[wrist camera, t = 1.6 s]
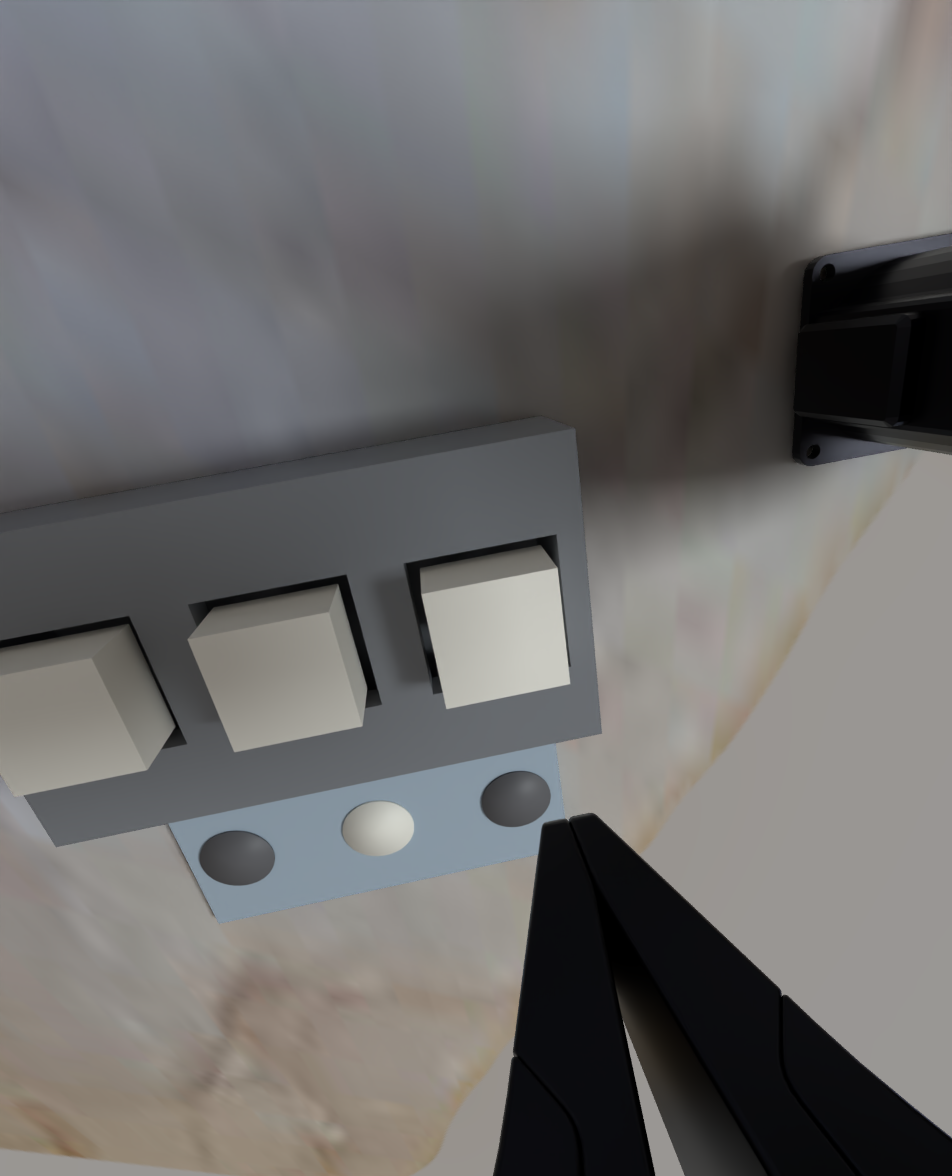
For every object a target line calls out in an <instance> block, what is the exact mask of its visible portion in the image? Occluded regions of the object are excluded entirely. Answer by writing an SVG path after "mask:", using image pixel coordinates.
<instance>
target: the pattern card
mask: <svg viewBox="0 0 952 1176" xmlns="http://www.w3.org/2000/svg"><path fill="white" fill-rule="evenodd" d="M558 819H565V814H564V806H563V798H562V791H561V783H560V775H559V767H558V760H557V752H556V744H555V743H554V744H549V745H544V746H539V747H534V748H530V749H525V750H520V751H515V752H510V753H506V754H501V755H496V756H491V757H486V758H482V759H477V760H472V761H467V762H462V763H458V764H453V765H448V766H443V767H438V768H434V769H429V770H424V771H419V772H414V773H409V774H405V775H400V776H395V777H390V778H385V779H381V780H376V781H371V782H366V783H361V784H357V785H352V786H347V787H342V788H337V789H333V790H328V791H323V792H318V793H313V794H309V795H304V796H299V797H294V798H289V799H285V800H280V801H275V802H270V803H265V804H261V805H256V806H251V807H246V808H241V809H237V810H232V811H227V812H222V813H217V814H212V815H208V816H203V817H198V818H193V819H188V820H184V821H179V822H174V823H169V826H170V828H171V830H172V832H173V834H174V836H175V838H176V840H177V842H178V844H179V846H180V848H181V850H182V852H183V854H184V856H185V858H186V860H187V862H188V864H189V866H190V868H191V870H192V872H193V874H194V876H195V878H196V880H197V882H198V884H199V886H200V888H201V890H202V891H203V893H204V895H205V897H206V899H207V901H208V903H209V905H210V907H211V909H212V911H213V913H214V915H215V917H216V919H217V921H218V923H219V924H220V923H225V922H229V921H234V920H239V919H243V918H248V917H252V916H257V915H262V914H266V913H271V912H275V911H280V910H285V909H289V908H294V907H298V906H303V905H308V904H312V903H317V902H321V901H326V900H331V899H335V898H340V897H345V896H349V895H354V894H358V893H363V892H368V891H372V890H377V889H381V888H386V887H391V886H395V885H400V884H404V883H409V882H414V881H418V880H423V879H427V878H432V877H437V876H441V875H446V874H451V873H455V872H460V871H464V870H469V869H474V868H478V867H483V866H487V865H492V864H497V863H501V862H506V861H510V860H515V859H520V858H524V857H529V856H533V855H538V851H539V843H540V835H541V828H542V825H543V824H544V823H545V822H549V821H553V820H558Z"/></svg>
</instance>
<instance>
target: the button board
mask: <svg viewBox="0 0 952 1176" xmlns="http://www.w3.org/2000/svg"><path fill="white" fill-rule="evenodd" d="M537 545H541V546H542V548H543V549H544V550H545V552H546V553H547V554H548V556H549V557H550V558H551V560H552V561H553V562H554V564H555V565H556V566H557V568H558V576H559V586H560V595H561V604H562V613H563V622H564V631H565V640H566V649H567V658H568V667H569V677H570V684H568V685H563V686H558V687H554V688H549V689H544V690H539V691H534V692H529V693H524V694H519V695H514V696H509V697H504V698H499V699H495V700H490V701H485V702H480V703H475V704H470V705H465V706H460V707H455V708H450V709H446V705H445V700H444V696H443V691H442V686H441V682H440V677H439V673H438V668H437V664H436V659H435V654H434V650H433V645H432V641H431V636H430V632H429V627H428V622H427V618H426V613H425V609H424V604H423V600H422V595H421V579H420V568H422V567H427V566H433V565H438V564H443V563H448V562H453V561H459V560H464V559H469V558H474V557H480V556H485V555H490V554H495V553H500V552H506V551H511V550H516V549H521V548H527V547H532V546H537ZM333 584H338V585H339V589H340V592H341V596H342V599H343V603H344V606H345V610H346V614H347V617H348V621H349V624H350V628H351V631H352V635H353V638H354V642H355V646H356V649H357V653H358V656H359V660H360V663H361V667H362V670H363V674H364V678H365V681H366V685H367V695H366V703H365V711H364V718H363V726H362V727H357V728H352V729H347V730H342V731H337V732H332V733H327V734H323V735H318V736H313V737H308V738H303V739H298V740H293V741H288V742H283V743H278V744H273V745H268V746H264V747H259V748H254V749H249V750H244V751H239V752H234V750H233V748H232V746H231V743H230V741H229V738H228V736H227V734H226V731H225V729H224V726H223V724H222V722H221V719H220V717H219V714H218V712H217V710H216V707H215V705H214V702H213V700H212V698H211V695H210V693H209V690H208V688H207V686H206V683H205V681H204V678H203V676H202V673H201V671H200V669H199V666H198V664H197V661H196V659H195V657H194V654H193V652H192V649H191V647H190V645H189V642H188V640H187V639H188V638H189V637H190V636H191V634H192V633H193V632H194V631H195V630H196V628H197V627H198V626H199V625H200V623H201V622H202V621H203V620H204V618H205V617H206V616H207V615H208V613H209V612H210V611H211V610H212V609H213V607H218V606H224V605H229V604H234V603H239V602H245V601H250V600H255V599H260V598H265V597H271V596H276V595H281V594H286V593H292V592H297V591H302V590H307V589H312V588H318V587H323V586H328V585H333ZM125 624H129V625H130V627H131V630H132V632H133V634H134V636H135V638H136V641H137V643H138V645H139V647H140V649H141V651H142V654H143V656H144V658H145V660H146V662H147V665H148V667H149V669H150V671H151V673H152V675H153V678H154V680H155V682H156V684H157V686H158V689H159V691H160V693H161V695H162V697H163V700H164V702H165V704H166V706H167V708H168V710H169V713H170V715H171V717H172V719H173V721H174V724H175V726H176V727H175V728H174V730H173V731H172V733H171V734H170V736H169V738H168V739H167V741H166V742H165V744H164V745H163V747H162V748H161V750H160V751H159V753H158V755H157V756H156V758H155V759H154V761H153V762H152V764H151V765H150V767H149V768H148V770H146V771H141V772H136V773H131V774H126V775H121V776H116V777H111V778H106V779H101V780H96V781H92V782H87V783H82V784H77V785H72V786H67V787H62V788H57V789H52V790H47V791H42V792H37V793H33V794H28V795H24V797H25V798H26V800H27V802H28V803H29V805H30V806H31V808H32V810H33V811H34V813H35V814H36V816H37V818H38V819H39V821H40V822H41V824H42V826H43V827H44V829H45V830H46V832H47V834H48V835H49V837H50V838H51V840H52V841H53V843H54V845H55V846H56V847H59V846H64V845H68V844H73V843H78V842H83V841H88V840H92V839H97V838H102V837H107V836H112V835H116V834H121V833H126V832H131V831H136V830H140V829H145V828H150V827H155V826H160V825H164V824H169V823H174V822H179V821H184V820H188V819H193V818H198V817H203V816H208V815H212V814H217V813H222V812H227V811H232V810H237V809H241V808H246V807H251V806H256V805H261V804H265V803H270V802H275V801H280V800H285V799H289V798H294V797H299V796H304V795H309V794H313V793H318V792H323V791H328V790H333V789H337V788H342V787H347V786H352V785H357V784H361V783H366V782H371V781H376V780H381V779H385V778H390V777H395V776H400V775H405V774H409V773H414V772H419V771H424V770H429V769H434V768H438V767H443V766H448V765H453V764H458V763H462V762H467V761H472V760H477V759H482V758H486V757H491V756H496V755H501V754H506V753H510V752H515V751H520V750H525V749H530V748H534V747H539V746H544V745H549V744H554V743H558V742H563V741H568V740H573V739H578V738H582V737H587V736H592V735H597V734H602V729H601V718H600V706H599V695H598V683H597V672H596V660H595V649H594V637H593V626H592V614H591V603H590V591H589V580H588V568H587V557H586V545H585V534H584V522H583V511H582V499H581V488H580V476H579V465H578V453H577V442H576V430H575V428H573V427H571V426H568V425H565V424H563V423H560V422H557V421H554V420H552V419H549V418H546V417H544V416H537V417H532V418H526V419H521V420H515V421H509V422H504V423H498V424H493V425H487V426H482V427H476V428H471V429H465V430H460V431H454V432H449V433H443V434H438V435H432V436H427V437H421V438H415V439H410V440H404V441H399V442H393V443H388V444H382V445H377V446H371V447H366V448H360V449H355V450H349V451H344V452H338V453H333V454H327V455H321V456H316V457H310V458H305V459H299V460H294V461H288V462H283V463H277V464H272V465H266V466H261V467H255V468H250V469H244V470H239V471H233V472H228V473H222V474H216V475H211V476H205V477H200V478H194V479H189V480H183V481H178V482H172V483H167V484H161V485H156V486H150V487H145V488H139V489H134V490H128V491H122V492H117V493H111V494H106V495H100V496H95V497H89V498H84V499H78V500H73V501H67V502H62V503H56V504H51V505H45V506H40V507H34V508H28V509H23V510H17V511H12V512H6V513H1V514H0V648H4V647H10V646H15V645H20V644H25V643H31V642H36V641H41V640H46V639H51V638H57V637H62V636H67V635H72V634H78V633H83V632H88V631H93V630H98V629H104V628H109V627H114V626H119V625H125Z"/></svg>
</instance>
